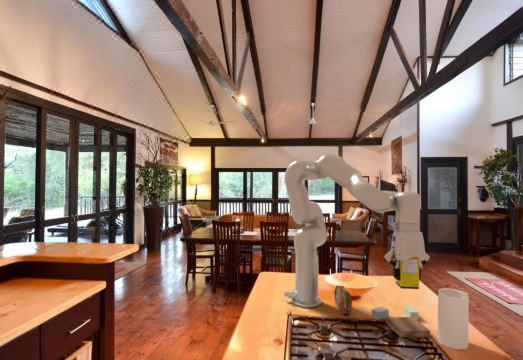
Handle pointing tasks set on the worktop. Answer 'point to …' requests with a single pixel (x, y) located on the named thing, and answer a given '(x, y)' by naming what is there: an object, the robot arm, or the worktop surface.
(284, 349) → the worktop surface
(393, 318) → the walnut slab
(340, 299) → the tin
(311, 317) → the worktop surface
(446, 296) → the cup
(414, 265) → the supplement box
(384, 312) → the slate brick
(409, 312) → the sage brick
